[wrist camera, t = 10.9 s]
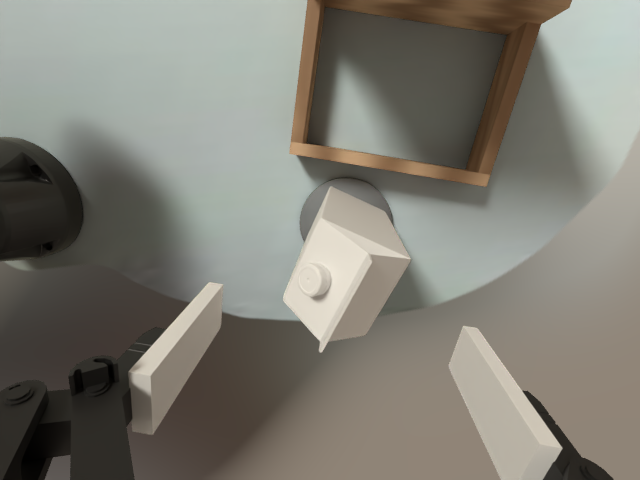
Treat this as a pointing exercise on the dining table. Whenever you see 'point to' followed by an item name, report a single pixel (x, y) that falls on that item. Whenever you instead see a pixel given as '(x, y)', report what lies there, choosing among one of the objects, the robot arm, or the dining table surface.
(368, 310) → the milk carton
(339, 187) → the disc
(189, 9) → the dining table surface
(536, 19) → the cold frame
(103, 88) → the dining table surface
